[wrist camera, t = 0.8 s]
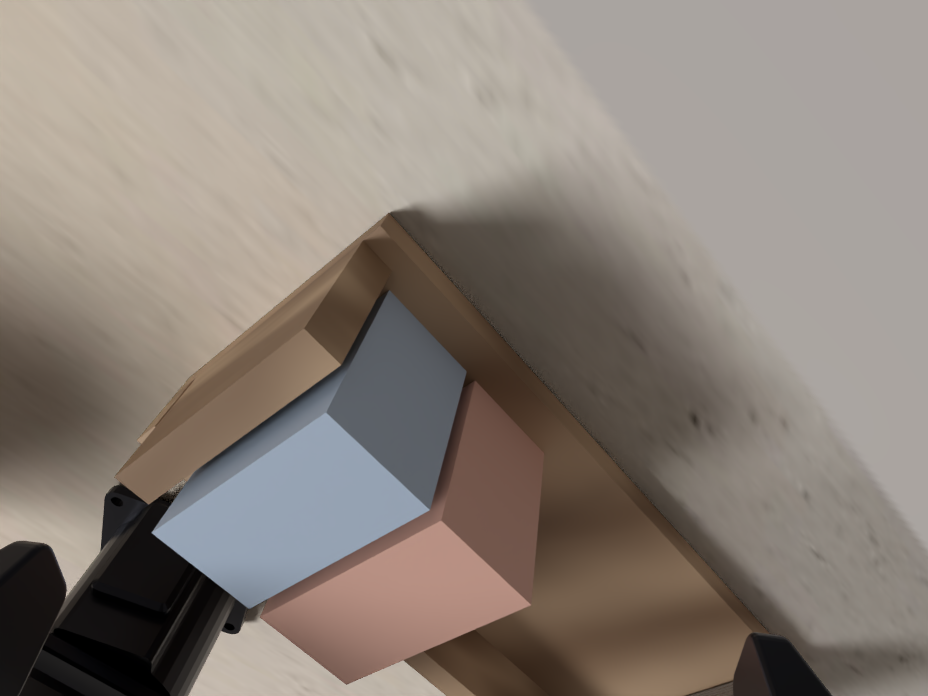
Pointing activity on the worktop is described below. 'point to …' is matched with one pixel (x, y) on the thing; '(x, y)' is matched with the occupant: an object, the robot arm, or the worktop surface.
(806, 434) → the worktop surface
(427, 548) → the book brick
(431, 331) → the wooden book rack
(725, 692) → the bookend
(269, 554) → the book blue
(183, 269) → the worktop surface
